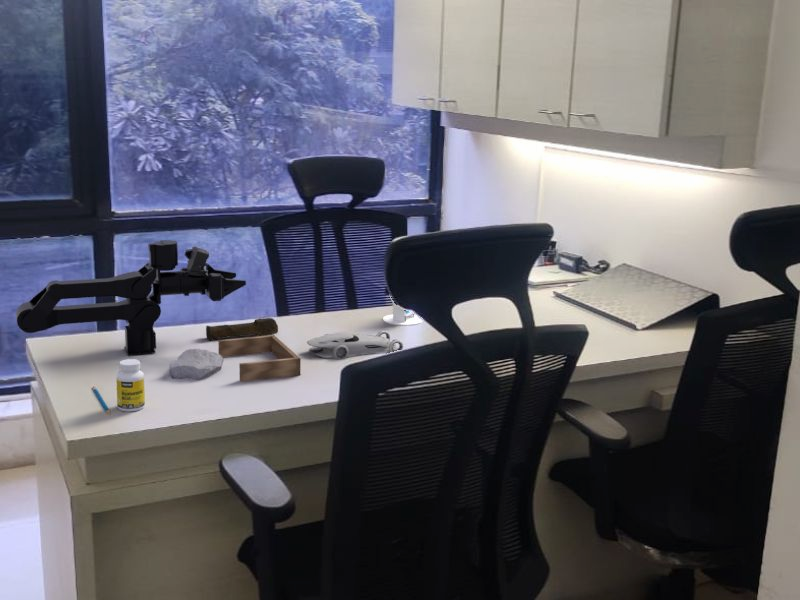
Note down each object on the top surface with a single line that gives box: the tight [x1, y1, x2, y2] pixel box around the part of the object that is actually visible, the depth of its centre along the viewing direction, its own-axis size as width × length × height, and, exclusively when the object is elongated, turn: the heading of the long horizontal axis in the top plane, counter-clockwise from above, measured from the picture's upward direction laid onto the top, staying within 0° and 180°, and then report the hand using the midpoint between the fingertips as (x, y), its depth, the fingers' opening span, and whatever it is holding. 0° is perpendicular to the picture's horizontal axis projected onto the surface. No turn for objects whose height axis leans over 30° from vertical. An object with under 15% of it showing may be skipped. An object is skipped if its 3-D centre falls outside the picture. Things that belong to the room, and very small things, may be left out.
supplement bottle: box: [115, 358, 146, 413], centre depth 182 cm, size 5×5×10 cm
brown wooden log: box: [205, 317, 279, 342], centre depth 234 cm, size 19×4×5 cm, turn 113°
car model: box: [306, 329, 404, 360], centre depth 226 cm, size 11×24×5 cm, turn 113°
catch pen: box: [217, 334, 302, 383], centre depth 212 cm, size 14×20×4 cm
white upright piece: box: [382, 295, 424, 327], centre depth 254 cm, size 12×11×15 cm
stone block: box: [169, 348, 224, 381], centre depth 206 cm, size 12×5×10 cm
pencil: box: [91, 386, 111, 415], centre depth 186 cm, size 1×17×1 cm, turn 28°
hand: (240, 278), depth 227 cm, fingers open, 9 cm apart
